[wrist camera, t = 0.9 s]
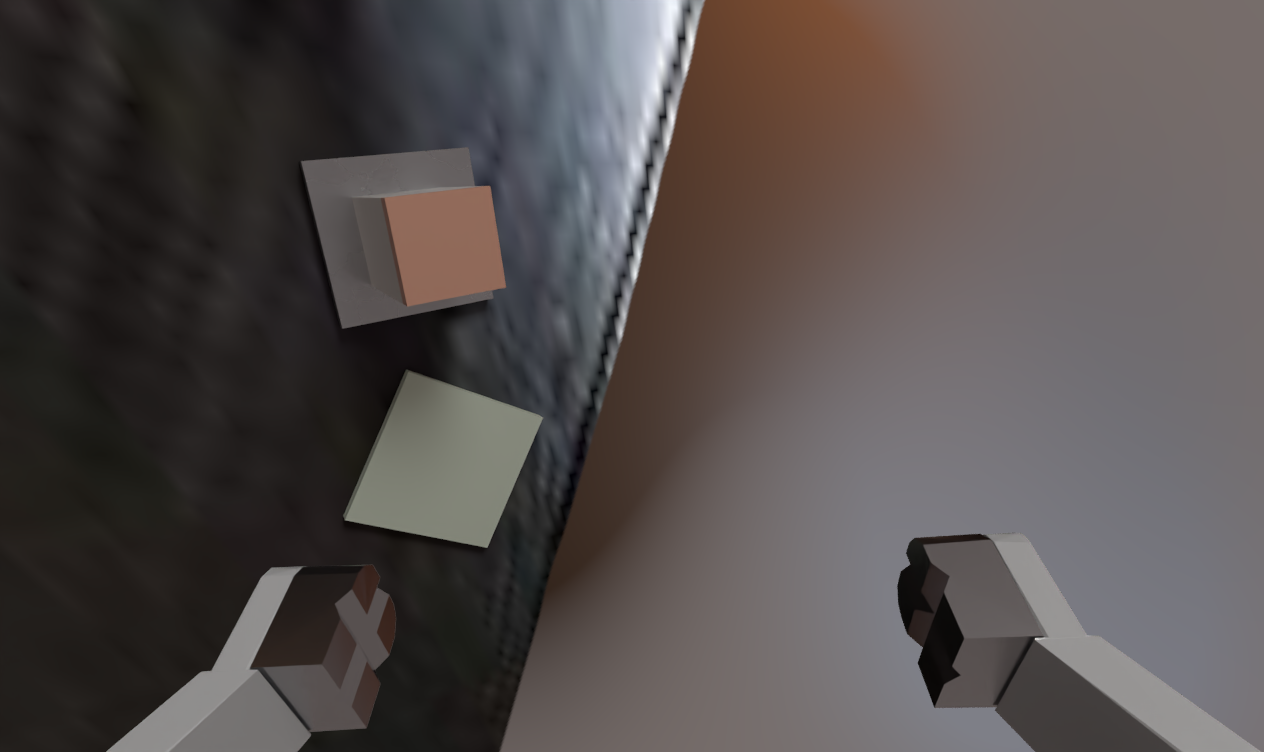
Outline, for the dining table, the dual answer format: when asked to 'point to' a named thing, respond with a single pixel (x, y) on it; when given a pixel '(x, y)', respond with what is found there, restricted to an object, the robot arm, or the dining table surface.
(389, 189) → the square base plate
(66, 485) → the dining table surface
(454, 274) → the pink tall block
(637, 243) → the dining table surface
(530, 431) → the pad
